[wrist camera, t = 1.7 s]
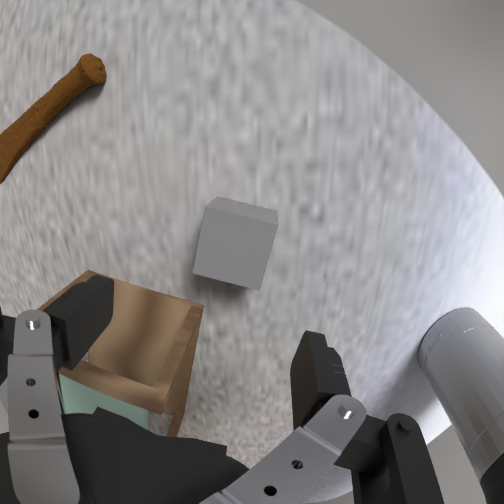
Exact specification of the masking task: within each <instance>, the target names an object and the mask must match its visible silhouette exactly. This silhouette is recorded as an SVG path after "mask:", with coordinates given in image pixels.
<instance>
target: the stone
mask: <svg viewBox="0 0 504 504" xmlns="http://www.w3.org/2000/svg"><path fill="white" fill-rule="evenodd" d="M277 227H278V218H277V211H275V210H271V209H267V208H263V207H259V206H255V205H251V204H247V203H243V202H239V201H235V200H231V199H227V198H223V197H219V196H218V197H216V198H215V199H214V200H213V201H212V202H210V203H209V204H208V205H207V206H206V207H205V212H204V217H203V221H202V226H201V231H200V236H199V241H198V246H197V251H196V257H195V262H194V267H193V274H197V275H201V276H204V277H208V278H212V279H216V280H220V281H224V282H228V283H231V284H235V285H239V286H243V287H247V288H251V289H255V290H259V291H260V287H261V284H262V280H263V277H264V273H265V270H266V266H267V263H268V259H269V255H270V252H271V248H272V245H273V241H274V238H275V234H276V230H277Z"/></svg>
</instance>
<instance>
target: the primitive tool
mask: <svg viewBox="0 0 504 504" xmlns="http://www.w3.org/2000/svg"><path fill="white" fill-rule="evenodd" d="M105 80H106V71H105V66H104V64H103V63H102V60H101V59H100V58H98V57H96V56H94V55H92V54H85V55H83V56H82V57H81V58H80V60H79V62H78V63H77V64H76V66H75V67H74V68H73V69H72V70H71V71H70V72H69V73H68V74H67V75H65V76H64V77H63V78H61V79H60V80H59V81H58V82H57V83H56V84H55V85H54V86H53V87H52V89H51V90H50V91H49V92H47V93H46V94H45V95H44V96H43V97H42V98H40V99H39V100H38V101H36V102H35V103H34V104H33V105H32V106H31V107H30V108H29V109H28V110H27V111H26V112H25V113H24V114H23V115H22V116H21V117H20V118H18V119H17V120H16V121H15V122H14V123H13V124H12V125H11V126H10V127H8V128H7V129H6V130H4V131H3V133H2V134H0V184H1V183H2V182H3V180H4V179H5V178H6V176H7V175H8V174H9V172H10V171H11V169H12V168H13V166H14V165H15V163H16V162H17V160H18V159H19V158H20V156H21V155H22V153H23V152H24V151H25V150H26V149H27V148H28V147H29V146H30V144H31V142H32V141H33V140H34V139H35V138H36V137H37V136H38V135H39V133H40V132H41V131H42V130H43V129H44V128H45V127H46V126H47V125H48V124H49V123H50V122H51V121H52V120H53V118H54V117H55V116H56V115H57V114H58V113H59V112H60V111H61V110H62V109H63V108H64V107H65V106H66V105H68V103H70V102H71V101H72V100H73V99H74V98H75V97H77V96H78V95H79V94H80V93H81V92H83V91H85V90H86V89H87V88H89V87H90V86H92V85H94V84H103V83H104V82H105Z"/></svg>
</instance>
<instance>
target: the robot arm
mask: <svg viewBox="0 0 504 504" xmlns="http://www.w3.org/2000/svg"><path fill="white" fill-rule="evenodd" d="M113 305H114V280H113V279H111V278H108V277H105V276H102V275H99V274H96V275H94V276H93V277H92V278H91V279H90V280H88V281H87V282H84V281H83V282H81V283H78V284H75V285H73V286H72V287H70V288H69V289H68V290H67V291H66V292H64V293H63V294H62V295H61V296H60V297H58V298H57V299H56V300H54V301H53V302H52V303H51V304H50V305H48V306H47V307H46V308H45V309H44V310H43V311H40V310H27V311H24V312H22V313H20V314H19V315H18V316H17V318H14V317H10V316H5V315H2V312H1V307H0V386H1V385H2V383H3V382H4V381H5V380H6V378H7V377H8V378H7V395H8V419H9V420H8V421H9V432H6V433H2V434H0V504H300V503H301V502H302V501H303V500H304V499H305V497H306V496H307V495H308V494H309V493H310V492H311V491H312V490H313V488H314V487H315V486H316V485H317V484H318V483H319V481H320V480H321V479H322V478H323V476H324V475H325V474H326V473H327V472H328V470H329V469H330V468H331V467H332V465H333V464H334V465H337V466H340V467H343V468H346V469H350V470H351V476H352V485H353V495H354V504H444V501H443V497H442V494H441V491H440V487H439V484H438V481H437V477H436V474H435V471H434V468H433V464H432V462H431V458H430V455H429V452H428V450H427V446H426V443H425V440H424V438H423V435H422V432H421V429H420V427H419V425H418V423H417V422H416V421H415V420H414V419H413V418H411V417H410V416H408V415H405V414H401V413H397V414H393V415H391V416H390V417H389V418H388V420H387V421H383V420H380V419H377V418H374V417H371V416H368V415H367V414H366V409H365V407H364V406H363V404H362V403H361V402H360V401H358V400H357V399H355V398H353V397H352V396H351V392H350V389H349V385H348V381H347V378H346V375H345V371H344V368H343V367H342V366H343V364H342V361H341V357H340V356H339V354H338V353H337V352H336V351H335V349H334V348H331V347H327V343H326V339H325V335H324V334H321V333H316V332H311V331H305V332H304V334H303V336H302V339H301V341H300V344H299V346H298V349H297V351H296V353H295V356H294V358H293V361H292V364H291V369H290V379H291V394H292V410H293V427H294V431H293V432H292V433H291V434H290V435H289V436H288V437H287V438H286V439H285V440H283V441H282V442H281V443H280V444H279V445H278V446H277V447H276V448H275V449H273V450H272V451H271V452H270V453H269V454H268V455H266V456H265V457H264V458H263V459H262V460H261V461H259V462H258V463H257V464H256V465H255V466H253V467H252V468H251V469H249V468H247V467H246V466H245V465H243V464H242V463H240V462H239V461H237V460H235V459H233V458H232V457H229V456H227V455H226V450H227V446H225V445H220V444H215V443H211V442H206V441H202V440H198V439H194V438H179V437H167V436H158V435H155V434H153V433H152V432H150V431H148V430H146V429H145V428H143V427H141V426H140V425H138V424H136V423H135V422H133V421H131V420H130V419H128V418H126V417H123V416H121V415H118V414H115V413H113V412H110V411H108V410H105V409H103V408H100V407H98V406H97V408H96V409H95V411H94V413H93V414H88V413H69V414H66V410H65V405H64V400H63V394H62V388H61V382H60V376H59V370H60V369H61V367H64V368H66V369H68V370H71V371H72V370H73V369H74V368H75V367H76V365H77V364H78V363H79V361H80V360H81V359H82V358H83V356H84V355H85V354H86V353H87V351H88V350H89V349H90V347H91V346H92V345H93V344H94V342H95V341H96V340H97V339H98V337H99V336H100V335H101V334H102V333H103V331H104V330H105V329H106V328H107V326H108V325H109V324H110V322H111V319H112V316H113ZM418 360H419V364H420V366H421V368H422V369H423V371H424V373H425V375H426V377H427V378H428V380H429V382H430V384H431V386H432V388H433V390H434V391H435V393H436V395H437V397H438V399H439V401H440V402H441V404H442V406H443V408H444V410H445V412H446V414H447V416H448V418H449V420H450V422H451V423H452V425H453V427H454V429H455V431H456V433H457V435H458V437H459V440H460V442H461V444H462V446H463V448H464V450H465V452H466V454H467V456H468V458H469V460H470V462H471V464H472V467H473V469H474V471H475V473H476V476H477V478H478V481H479V483H480V485H481V487H482V490H483V492H484V495H485V498H486V502H487V504H504V338H503V337H502V336H501V335H500V334H499V333H498V332H497V331H496V330H495V329H494V328H493V327H492V326H491V325H490V324H489V323H488V322H487V321H486V320H485V319H484V318H483V317H482V316H481V315H480V314H479V313H478V312H477V311H475V310H474V309H471V308H460V309H456V310H453V311H451V312H449V313H447V314H446V315H445V316H443V317H442V318H440V319H439V320H438V321H437V322H436V323H435V324H434V325H433V326H432V327H431V328H430V330H429V331H428V332H427V334H426V336H425V337H424V339H423V341H422V343H421V346H420V349H419V356H418Z"/></svg>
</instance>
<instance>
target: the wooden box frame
mask: <svg viewBox="0 0 504 504" xmlns="http://www.w3.org/2000/svg"><path fill="white" fill-rule="evenodd" d="M96 274H98V273H95V272H92V271H89V270H88V271H86V272H85V273H84V274H82V275H81V276H80V277H78V278H77V279H76V280H74V281H73V282H72V283H70V284H69V285H68V286H66V287H65V288H64V289H62V290H61V291H60V292H59V293H57V294H56V295H55V296H53V297H52V298H51V299H50V300H48V301H47V302H46V303H45V304H43V305H42V306H41V307H40V308H38V309H37V310H40V311H43V310H44V309H45V308H46V307H47V306H48V305H50V304H51V303H52V302H53V301H54V300H56V299H57V298H58V297H60V296H61V295H62V294H63V293H64V292H66V291H67V290H68V289H69V288H70V287H72V286H73V285H75V284H78V283H81V282H83V281H84V282H87V281H88V280H90V279H91V278H92V277H93V276H94V275H96ZM99 275H101V274H99ZM102 276H104V275H102ZM105 277H107V276H105ZM108 278H110V277H108ZM111 279H113V278H111ZM113 280H114V305H113V316H112V319H111V322H110V324H109V325H108V326H107V328H106V329H105V330H104V331H103V333H102V334H101V335H100V336H99V337H98V339H97V340H96V341H95V342H94V344H93V345H92V346H91V347H90V349H89V350H88V358H89V363H87V362H85V361H82V360H80V361H79V363H78V364H77V365H76V367H75V368H74V369H73V370H72V371H71V370H68V369H66V368H64V367H61V369H60V370H59V374H61V375H63V376H65V377H67V378H69V379H71V380H73V381H76V382H78V383H80V384H82V385H84V386H87V387H89V388H91V389H94V390H96V391H98V392H101V393H103V394H106V395H108V396H111V397H113V398H116V399H118V400H121V401H123V402H126V403H129V404H132V405H134V406H137V407H140V408H143V409H146V410H149V411H152V412H155V413H158V414H161V415H162V412H165V413H168V414H171V415H174V417H173V420H172V422H171V425H170V428H169V431H168V434H167V437H177V434H178V431H179V428H180V425H181V422H182V418H183V415H184V410H185V404H186V398H187V392H188V387H189V381H190V376H191V370H192V364H193V359H194V354H195V348H196V343H197V338H198V333H199V328H200V322H201V317H202V312H203V307H204V305H201V304H197V303H194V302H190V301H187V300H183V299H180V298H176V297H172V296H169V295H166V294H162V293H159V292H155V291H152V290H149V289H145V288H142V287H139V286H136V285H132V284H129V283H126V282H123V281H120V280H117V279H113Z"/></svg>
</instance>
